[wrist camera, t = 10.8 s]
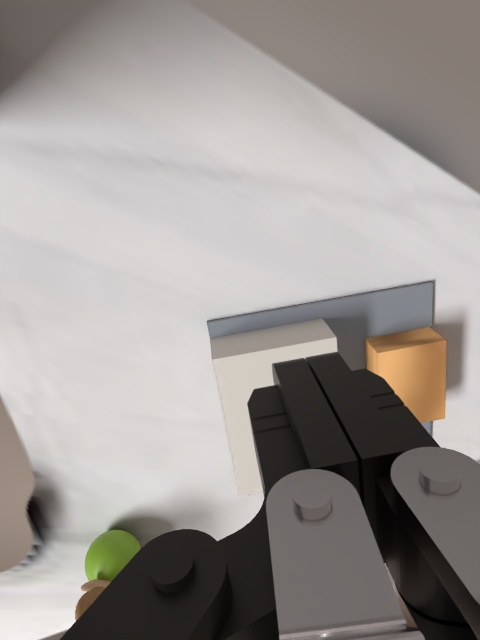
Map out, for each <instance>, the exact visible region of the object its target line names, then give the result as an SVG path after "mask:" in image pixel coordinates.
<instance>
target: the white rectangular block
mask: <svg viewBox="0 0 480 640" xmlns="http://www.w3.org/2000/svg"><path fill="white" fill-rule="evenodd" d="M210 343H211V354H212V362H213V367H214V372H215V377H216V382H217V388H218V393H219V398H220V403H221V408H222V413H223V418H224V423H225V428H226V433H227V438H228V443H229V448H230V453H231V459H232V464H233V469H234V474H235V479H236V484H237V489H238V494H239V496H242V495H247V494H252V493H258V492H263V488H262V483H261V478H260V473H259V468H258V463H257V458H256V453H255V447H254V441H253V435H252V429H251V423H250V417H249V412H248V406H247V403H248V401H249V398H250V396H251V394H252V392H253V390H254V389H257V388H262V387H268V386H273V385H274V381H273V374H272V363H278V362H283V361H289V360H294V359H300V358H304V359H305V358H306V357H310V356H315V355H321V354H326V353H332V352H338V351H337V338H336V336H335V335H334V333H333V332H332V331H331V329H330V328H329V327H328V325H327V324H326V323H325V321H324V320H323V319H316V320H311V321H305V322H300V323H294V324H289V325H283V326H278V327H272V328H267V329H261V330H255V331H250V332H244V333H239V334H233V335H228V336H222V337H217V338H211V339H210Z"/></svg>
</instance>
